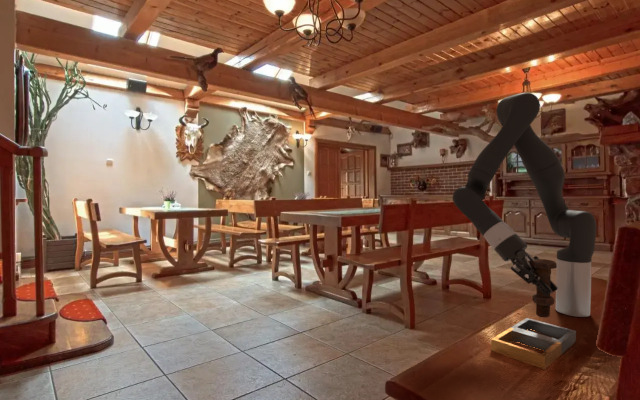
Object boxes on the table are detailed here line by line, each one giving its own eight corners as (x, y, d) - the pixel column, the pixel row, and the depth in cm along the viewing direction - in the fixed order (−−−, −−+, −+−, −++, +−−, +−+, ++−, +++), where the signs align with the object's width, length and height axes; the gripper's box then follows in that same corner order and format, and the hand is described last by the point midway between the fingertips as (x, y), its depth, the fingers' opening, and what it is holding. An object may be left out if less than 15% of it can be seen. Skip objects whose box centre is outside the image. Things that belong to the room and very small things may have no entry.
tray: (526, 328, 103) (526, 317, 103) (575, 341, 94) (575, 330, 94) (491, 350, 89) (491, 339, 89) (544, 369, 80) (544, 356, 80)
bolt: (558, 320, 92) (559, 263, 91) (536, 319, 93) (537, 263, 92) (548, 312, 98) (549, 258, 97) (528, 311, 99) (529, 258, 98)
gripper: (503, 235, 96) (554, 290, 87) (524, 230, 104) (573, 279, 95) (483, 252, 100) (530, 306, 91) (505, 246, 109) (550, 294, 100)
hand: (551, 292), depth 93 cm, fingers closed on bolt, 3 cm apart
